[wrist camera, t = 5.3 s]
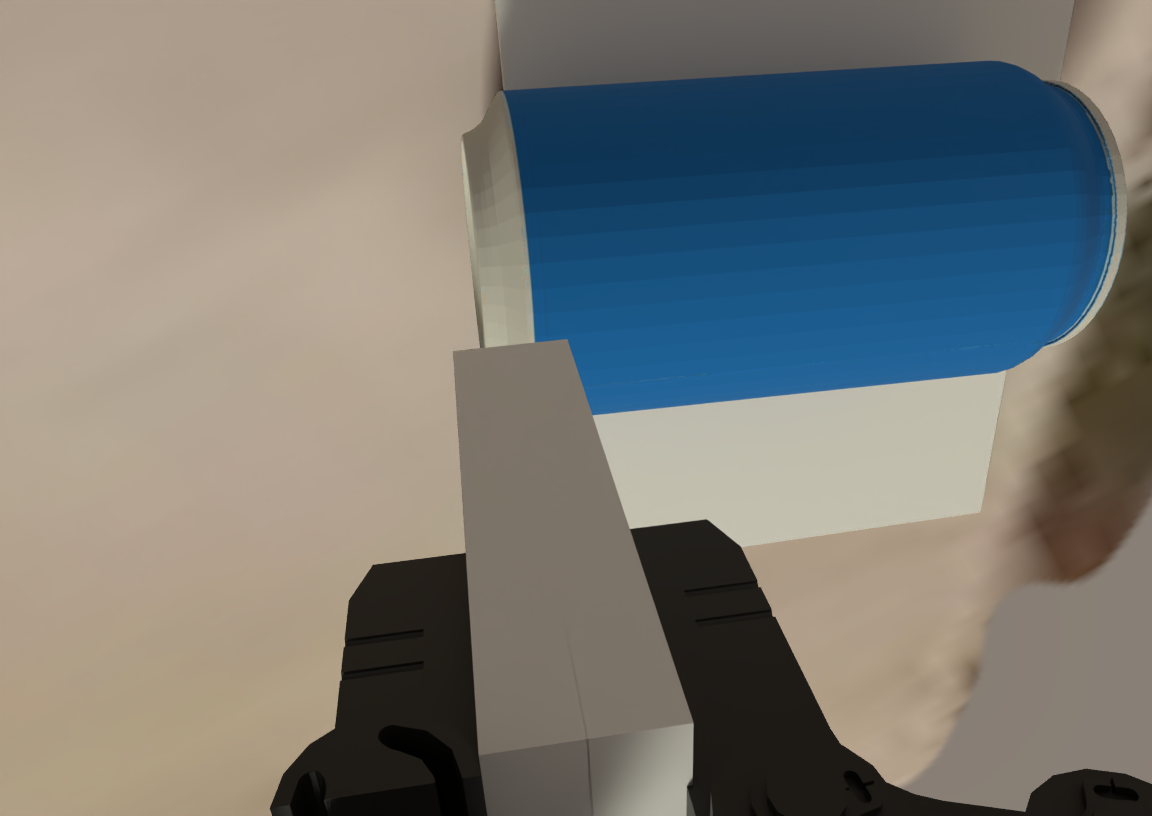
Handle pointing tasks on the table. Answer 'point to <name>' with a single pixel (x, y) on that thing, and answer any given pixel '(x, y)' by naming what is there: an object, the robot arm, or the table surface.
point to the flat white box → (808, 420)
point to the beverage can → (792, 228)
